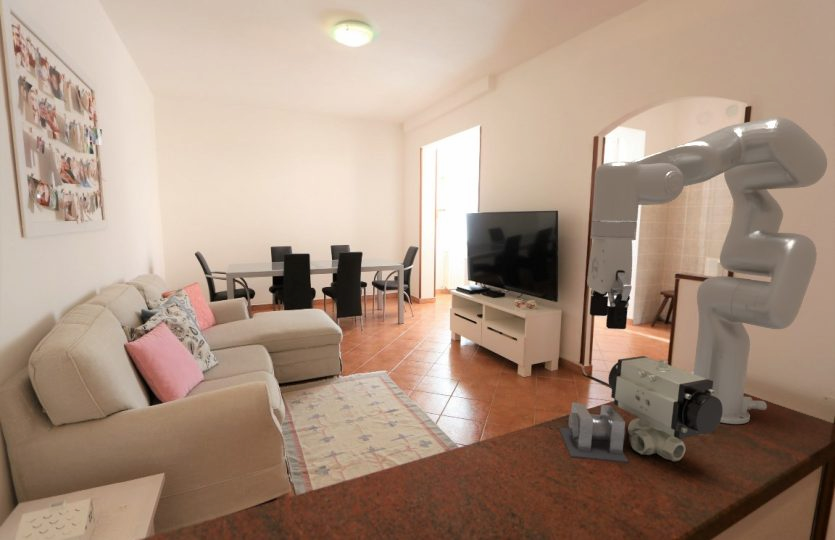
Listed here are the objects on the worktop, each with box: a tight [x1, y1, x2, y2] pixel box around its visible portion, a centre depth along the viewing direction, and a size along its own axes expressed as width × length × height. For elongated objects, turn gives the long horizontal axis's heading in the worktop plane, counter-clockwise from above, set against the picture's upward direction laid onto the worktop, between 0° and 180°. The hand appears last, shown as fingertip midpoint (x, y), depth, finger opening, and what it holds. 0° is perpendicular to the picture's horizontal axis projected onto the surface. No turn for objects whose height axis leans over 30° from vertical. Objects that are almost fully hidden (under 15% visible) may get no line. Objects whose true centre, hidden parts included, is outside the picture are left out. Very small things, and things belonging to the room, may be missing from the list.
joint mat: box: [559, 427, 629, 464], centre depth 77 cm, size 10×10×1 cm
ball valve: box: [607, 355, 723, 462], centre depth 75 cm, size 18×8×18 cm, turn 21°
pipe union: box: [568, 402, 626, 455], centre depth 77 cm, size 9×6×6 cm
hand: (606, 321), depth 76 cm, fingers open, 9 cm apart
